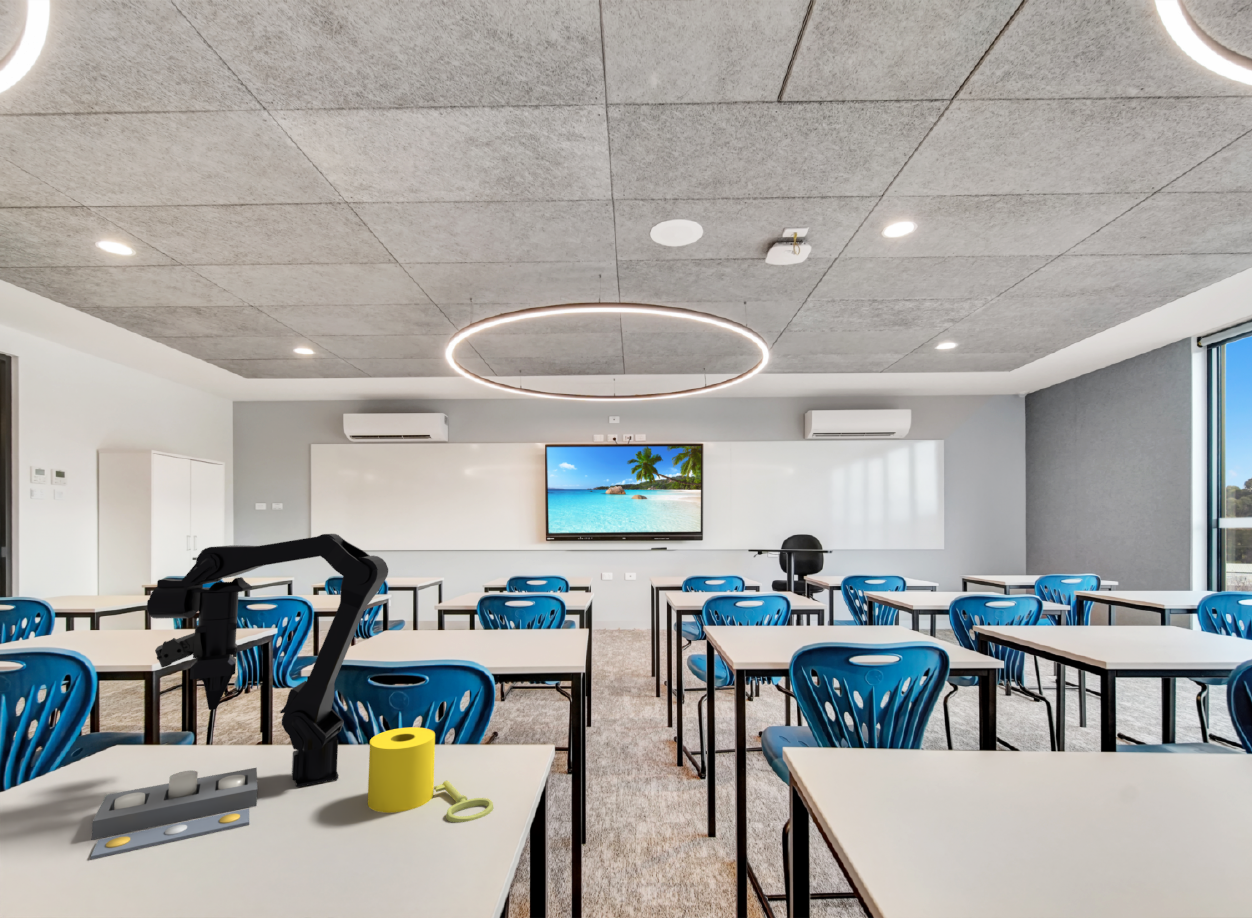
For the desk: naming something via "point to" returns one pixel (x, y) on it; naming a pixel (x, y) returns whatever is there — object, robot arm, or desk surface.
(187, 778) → the button middle
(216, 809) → the button panel
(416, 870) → the desk surface
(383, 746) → the yellow cylinder with hole
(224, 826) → the pattern card
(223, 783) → the button
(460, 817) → the key
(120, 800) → the button
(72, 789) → the desk surface
